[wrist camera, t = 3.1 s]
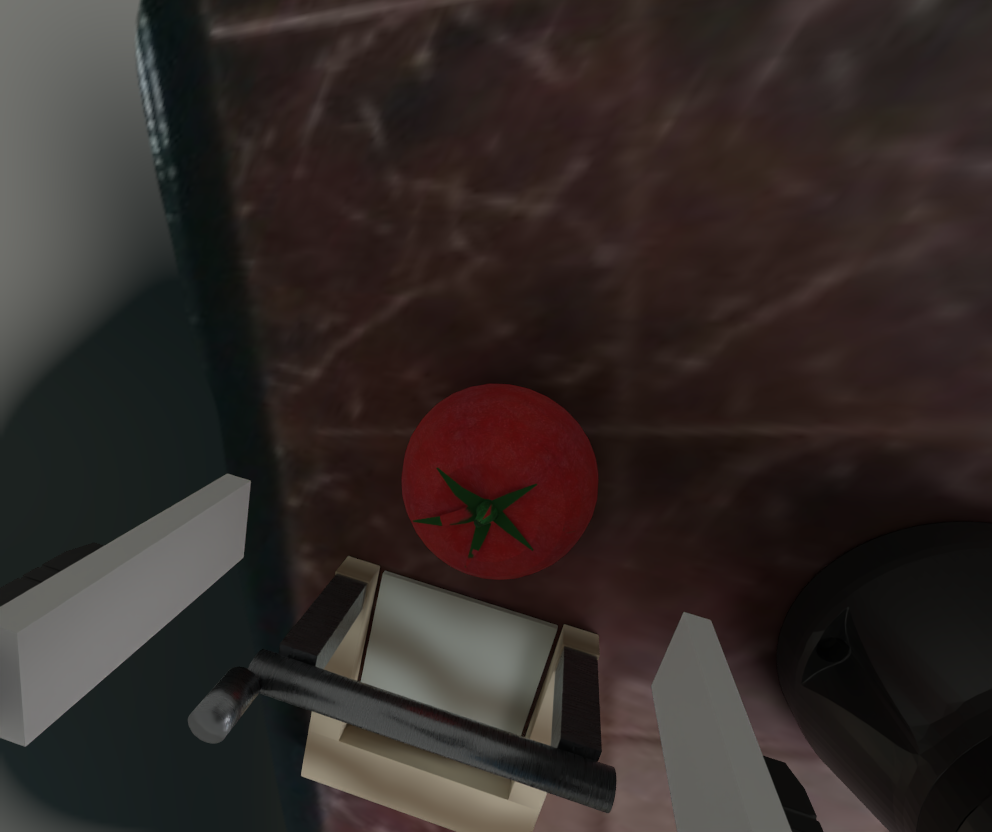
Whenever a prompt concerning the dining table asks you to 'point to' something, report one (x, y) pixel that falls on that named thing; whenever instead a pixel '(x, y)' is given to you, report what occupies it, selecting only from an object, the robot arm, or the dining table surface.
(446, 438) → the tomato
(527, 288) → the dining table surface
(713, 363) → the dining table surface
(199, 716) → the grey curved bar
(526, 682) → the beige flat square frame
